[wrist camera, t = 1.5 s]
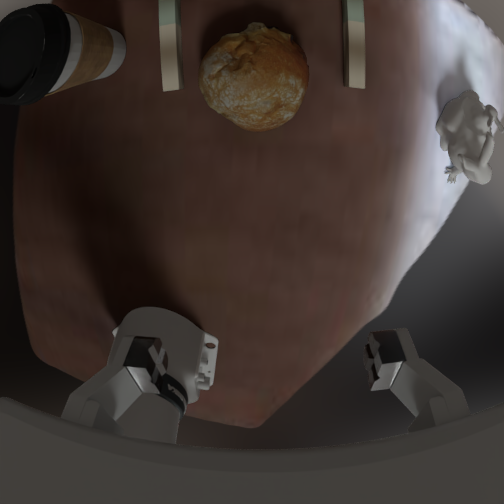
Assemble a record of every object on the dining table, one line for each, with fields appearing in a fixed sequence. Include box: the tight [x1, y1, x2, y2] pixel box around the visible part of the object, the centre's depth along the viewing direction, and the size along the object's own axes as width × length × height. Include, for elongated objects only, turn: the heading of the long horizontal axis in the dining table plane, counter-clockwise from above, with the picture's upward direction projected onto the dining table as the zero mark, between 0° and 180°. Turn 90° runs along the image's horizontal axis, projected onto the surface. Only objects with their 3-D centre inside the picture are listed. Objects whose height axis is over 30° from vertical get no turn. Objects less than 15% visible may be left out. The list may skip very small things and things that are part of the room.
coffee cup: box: [0, 4, 126, 106], centre depth 17 cm, size 8×8×15 cm
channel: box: [159, 0, 365, 91], centre depth 22 cm, size 14×19×2 cm
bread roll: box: [198, 22, 309, 132], centre depth 23 cm, size 10×10×8 cm
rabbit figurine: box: [436, 90, 504, 184], centre depth 23 cm, size 12×8×10 cm, turn 168°
